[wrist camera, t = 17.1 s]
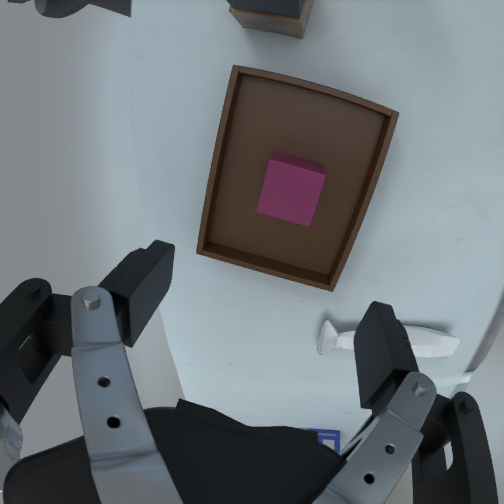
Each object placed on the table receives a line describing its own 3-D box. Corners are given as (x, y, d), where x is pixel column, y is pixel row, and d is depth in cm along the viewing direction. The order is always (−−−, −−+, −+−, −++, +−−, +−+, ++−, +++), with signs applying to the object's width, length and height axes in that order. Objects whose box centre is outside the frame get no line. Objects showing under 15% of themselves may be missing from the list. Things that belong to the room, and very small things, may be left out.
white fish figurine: (440, 346, 34) (448, 366, 30) (316, 342, 36) (315, 365, 33) (455, 314, 31) (466, 335, 28) (322, 308, 34) (323, 331, 30)
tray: (203, 242, 32) (195, 253, 30) (239, 68, 23) (232, 64, 21) (331, 278, 32) (332, 292, 29) (391, 112, 23) (399, 112, 21)
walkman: (339, 430, 46) (339, 488, 35) (335, 437, 47) (334, 492, 36) (297, 427, 46) (291, 485, 36) (294, 433, 48) (288, 490, 37)
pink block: (262, 196, 28) (255, 212, 24) (274, 150, 26) (269, 158, 22) (309, 209, 28) (309, 227, 24) (322, 164, 26) (326, 175, 22)
